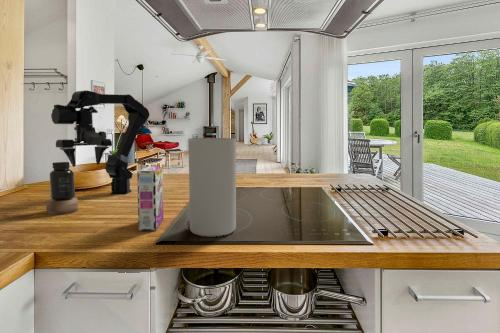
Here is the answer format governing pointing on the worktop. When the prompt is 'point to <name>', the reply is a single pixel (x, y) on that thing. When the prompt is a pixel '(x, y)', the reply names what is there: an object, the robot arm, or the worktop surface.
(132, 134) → the robot arm
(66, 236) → the worktop surface
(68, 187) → the supplement bottle
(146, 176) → the candy bar box
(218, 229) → the cylinder vase
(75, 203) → the walnut plinth
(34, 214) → the worktop surface
